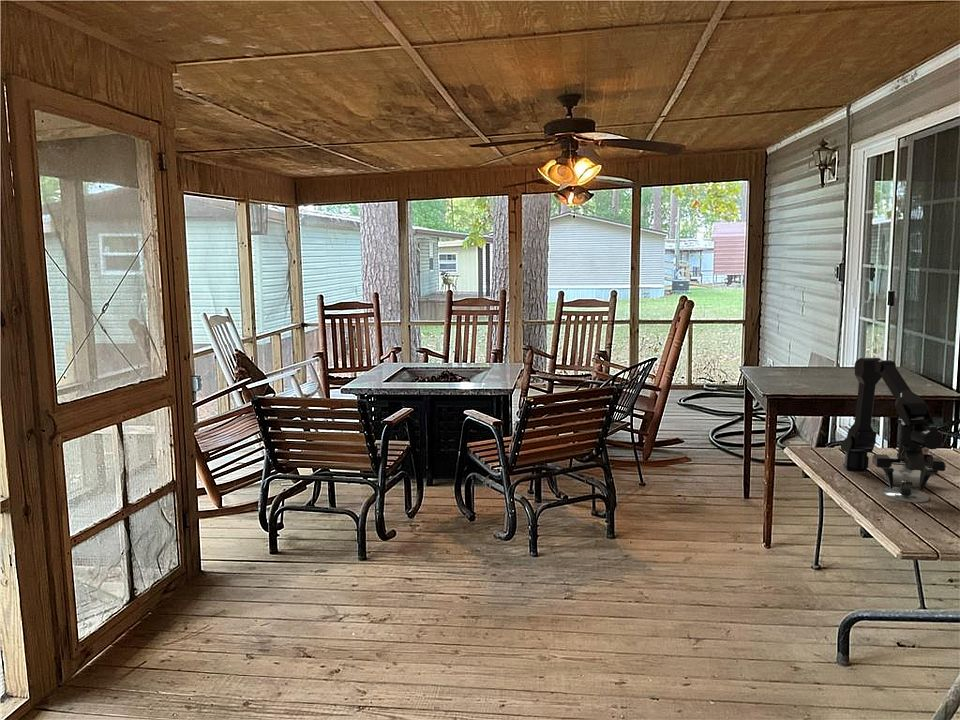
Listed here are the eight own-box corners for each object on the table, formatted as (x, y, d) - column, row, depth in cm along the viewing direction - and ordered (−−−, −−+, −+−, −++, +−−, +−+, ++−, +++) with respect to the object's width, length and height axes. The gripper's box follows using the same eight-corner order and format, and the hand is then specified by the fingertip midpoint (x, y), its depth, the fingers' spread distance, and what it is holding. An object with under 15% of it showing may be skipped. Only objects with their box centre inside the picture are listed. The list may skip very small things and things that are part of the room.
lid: (889, 501, 212) (890, 486, 211) (877, 488, 224) (878, 473, 223) (935, 505, 209) (936, 489, 208) (920, 491, 220) (922, 476, 220)
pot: (880, 484, 226) (881, 463, 225) (870, 474, 237) (872, 454, 236) (939, 488, 222) (941, 467, 221) (927, 477, 232) (928, 457, 231)
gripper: (884, 445, 208) (880, 495, 210) (955, 449, 203) (950, 500, 206) (873, 436, 219) (869, 483, 221) (940, 439, 214) (936, 488, 216)
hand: (905, 489), depth 216 cm, fingers open, 8 cm apart
